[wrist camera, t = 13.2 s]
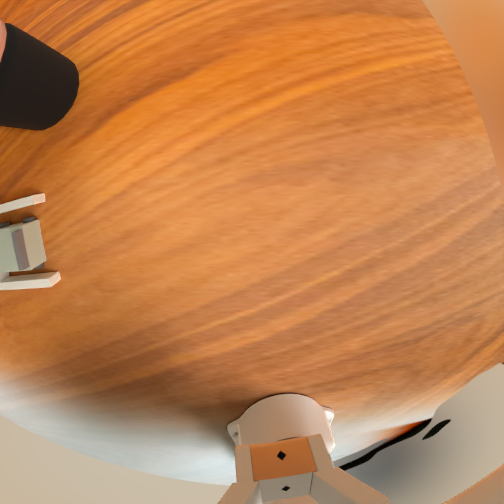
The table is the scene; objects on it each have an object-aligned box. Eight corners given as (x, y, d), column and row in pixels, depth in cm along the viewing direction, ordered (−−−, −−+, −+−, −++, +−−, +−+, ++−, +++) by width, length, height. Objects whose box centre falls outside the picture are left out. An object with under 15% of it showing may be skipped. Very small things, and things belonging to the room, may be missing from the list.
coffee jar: (27, 70, 27) (-51, 41, 10) (86, 51, 28) (14, -3, 10) (21, 137, 30) (-69, 134, 12) (80, 123, 31) (-11, 101, 13)
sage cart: (48, 264, 35) (26, 278, 29) (12, 267, 35) (-10, 280, 29) (39, 214, 33) (14, 223, 27) (3, 222, 33) (-21, 230, 27)
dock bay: (61, 279, 36) (51, 286, 33) (7, 283, 35) (-3, 290, 32) (44, 193, 32) (32, 195, 29) (-9, 208, 32) (-21, 211, 29)
